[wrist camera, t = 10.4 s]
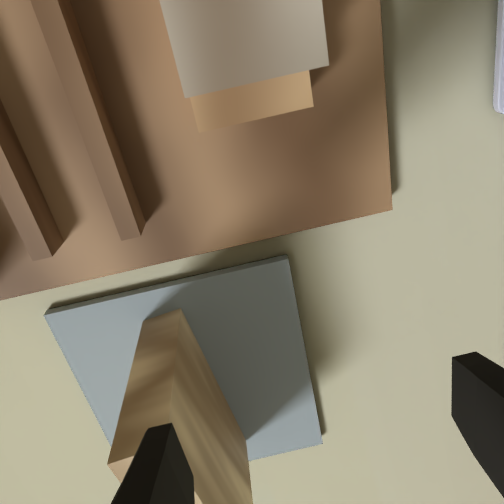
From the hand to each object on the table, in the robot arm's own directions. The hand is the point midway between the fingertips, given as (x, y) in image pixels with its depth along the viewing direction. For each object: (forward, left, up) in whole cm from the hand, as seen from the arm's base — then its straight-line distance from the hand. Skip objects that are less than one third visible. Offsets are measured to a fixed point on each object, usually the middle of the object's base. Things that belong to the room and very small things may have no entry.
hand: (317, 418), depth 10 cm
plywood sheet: (+5, +7, -10) cm, 13 cm away
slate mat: (+5, +7, -10) cm, 13 cm away
